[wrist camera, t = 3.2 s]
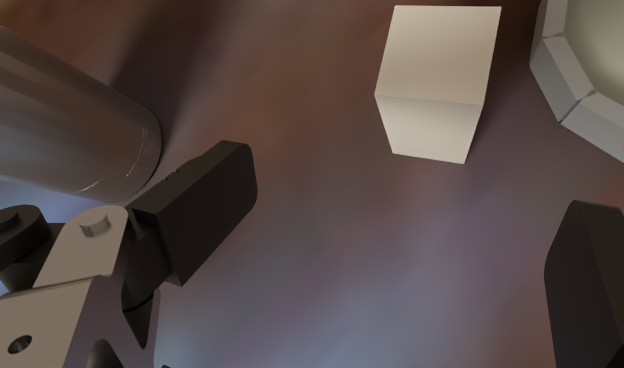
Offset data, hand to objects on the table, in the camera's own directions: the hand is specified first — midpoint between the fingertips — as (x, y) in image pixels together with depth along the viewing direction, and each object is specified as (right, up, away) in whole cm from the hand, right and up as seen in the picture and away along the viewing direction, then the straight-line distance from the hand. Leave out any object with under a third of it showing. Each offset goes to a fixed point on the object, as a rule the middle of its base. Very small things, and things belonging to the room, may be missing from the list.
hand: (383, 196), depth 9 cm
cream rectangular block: (+6, +4, +15) cm, 17 cm away
